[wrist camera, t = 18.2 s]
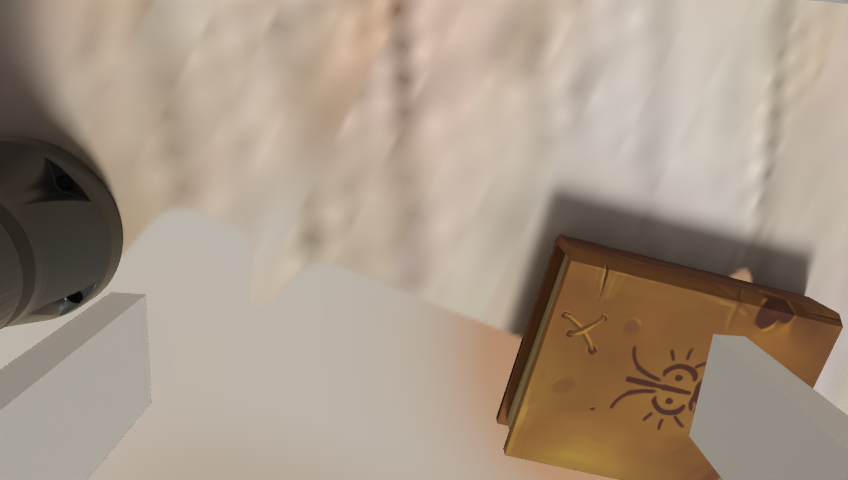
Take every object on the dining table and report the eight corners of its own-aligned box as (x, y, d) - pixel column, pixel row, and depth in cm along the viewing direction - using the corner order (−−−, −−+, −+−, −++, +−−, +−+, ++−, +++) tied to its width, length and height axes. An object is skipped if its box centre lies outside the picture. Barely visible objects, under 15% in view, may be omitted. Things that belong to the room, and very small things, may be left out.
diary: (799, 292, 51) (847, 318, 45) (720, 465, 55) (754, 508, 50) (556, 232, 49) (575, 251, 43) (495, 417, 53) (505, 456, 48)
